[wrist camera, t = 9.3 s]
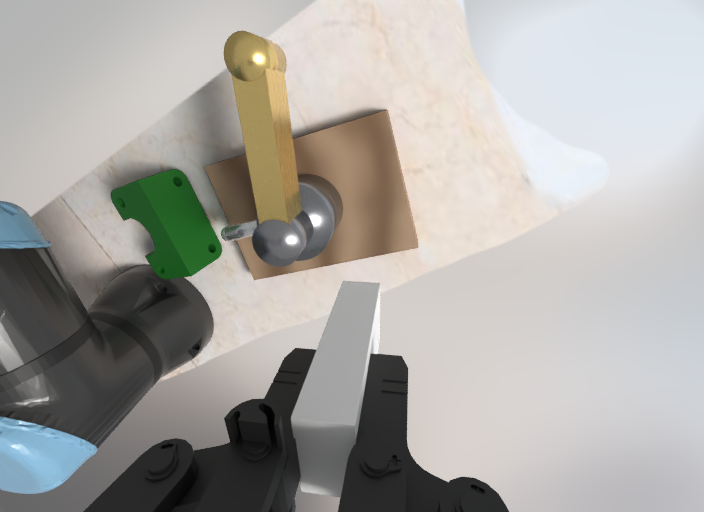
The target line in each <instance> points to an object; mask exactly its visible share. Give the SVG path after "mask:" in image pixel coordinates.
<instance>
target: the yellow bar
mask: <svg viewBox="0 0 704 512" xmlns="http://www.w3.org/2000/svg"><path fill="white" fill-rule="evenodd" d="M224 60H225V63H226V66H227V68H228V70H229V71H230V72H231V74H232V80H233V85H234V90H235V96H236V101H237V107H238V112H239V117H240V123H241V128H242V134H243V139H244V144H245V150H246V155H247V161H248V166H249V172H250V177H251V182H252V188H253V193H254V199H255V204H256V209H257V215H258V220H259V225H258V226H257V227H256V229H255V230H254V232H253V236H252V244H253V248H254V250H255V252H256V254H257V255H258V256H259V258H260V259H261V260H263V261H264V262H265V263H267V264H269V265H272V266H276V267H285V266H288V265H290V264H292V263H293V262H294V261H295V260H296V259H297V258H298V256H299V255H300V254H301V252H302V251H303V250H304V248H305V247H306V245H307V244H308V243H309V241H310V240H311V238H312V236H313V231H314V229H313V223H312V221H311V219H310V217H309V216H308V214H307V213H306V212H304V211H303V210H302V207H301V200H300V192H299V184H298V176H297V169H296V161H295V153H294V145H293V137H292V130H291V122H290V114H289V106H288V98H287V91H286V83H285V75H284V73H285V71H286V57H285V54H284V52H283V50H282V49H281V48H280V47H279V46H278V45H277V44H276V43H274V42H272V41H270V40H267V39H265V38H262V37H259V36H257V35H254V34H252V33H249V32H246V31H238V32H235V33H233V34H232V35H231V36H230V37H229V38H228V39H227V41H226V43H225V47H224Z"/></svg>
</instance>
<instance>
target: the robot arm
mask: <svg viewBox="0 0 704 512" xmlns="http://www.w3.org/2000/svg"><path fill="white" fill-rule="evenodd" d="M50 246H51V243H50V242H49V241H46V240H45V239H44V237H43V236H42V234H41V233H40V231H39V230H38V228H37V227H36V225H35V223H34V222H33V220H32V219H31V217H30V216H29V215H28V213H27V212H26V211H25V210H24V209H22V208H21V207H19V206H17V205H15V204H12V203H9V202H3V201H0V489H1V490H6V491H10V492H16V493H27V494H33V493H41V492H46V491H49V490H52V489H54V488H56V487H58V486H59V485H61V484H62V483H63V482H65V481H66V480H67V479H68V478H69V477H70V476H71V475H72V474H73V473H74V472H75V471H76V470H77V469H78V468H79V467H80V466H81V465H82V464H83V463H84V462H85V461H86V460H87V459H88V458H89V457H91V456H92V455H94V454H95V453H96V451H97V449H98V448H99V446H100V445H101V444H102V443H103V442H104V441H105V440H106V438H107V437H108V436H109V435H110V434H111V433H112V432H113V431H114V429H115V428H116V427H117V426H118V425H119V424H120V423H121V421H122V420H123V419H124V418H125V417H126V416H127V415H128V414H129V412H130V411H131V410H132V409H133V408H134V407H135V406H136V404H137V403H138V402H139V401H140V400H141V399H142V398H143V397H144V396H145V394H146V393H147V392H148V391H149V390H150V389H151V388H152V387H153V385H154V384H155V383H156V382H157V381H158V380H159V379H160V378H161V377H163V376H165V375H166V374H168V373H170V372H172V371H173V370H175V369H177V368H178V367H180V366H182V365H184V364H185V363H187V362H189V361H190V360H192V359H194V358H195V357H196V356H197V355H198V354H199V353H200V352H201V351H202V350H203V349H204V347H205V346H206V345H207V344H208V343H209V341H210V339H211V337H212V334H213V317H212V314H211V311H210V308H209V306H208V304H207V302H206V301H205V299H204V297H203V296H202V295H201V293H200V292H199V291H198V290H197V289H196V288H195V287H194V286H193V285H192V284H191V283H190V282H188V281H187V280H186V279H184V278H183V277H180V278H173V279H162V278H160V277H159V276H158V275H157V274H156V273H155V272H154V270H153V269H152V267H151V265H142V266H136V267H133V268H130V269H128V270H127V271H125V272H123V273H122V274H120V275H118V276H117V277H115V278H114V279H113V280H112V281H111V282H110V283H109V284H108V285H107V286H106V287H105V289H104V290H103V291H102V293H101V294H100V295H99V297H98V298H97V299H96V300H95V302H94V303H93V304H92V306H91V307H90V308H89V310H88V311H86V309H85V307H84V305H83V304H82V302H81V300H80V298H79V297H78V295H77V293H76V292H75V290H74V288H73V286H72V285H71V283H70V281H69V280H68V278H67V276H66V274H65V273H64V271H63V269H62V267H61V266H60V264H59V262H58V261H57V259H56V257H55V255H54V254H53V252H52V250H51V249H50ZM379 341H380V283H370V282H351V281H343V282H342V285H341V288H340V290H339V293H338V295H337V298H336V301H335V303H334V306H333V308H332V311H331V314H330V317H329V319H328V322H327V324H326V327H325V330H324V332H323V335H322V337H321V340H320V342H319V345H318V348H317V350H313V349H301V348H295V349H294V350H293V351H292V352H291V353H290V354H288V355H287V356H286V357H285V358H284V360H283V362H282V364H281V366H280V368H279V370H278V373H277V374H276V376H275V378H274V380H273V383H272V384H271V386H270V388H269V390H268V392H267V394H266V396H265V398H264V399H252V400H249V401H246V402H243V403H241V404H239V405H238V406H236V407H235V408H233V409H232V410H231V411H230V412H229V413H228V415H227V416H226V417H225V418H224V419H225V423H226V427H227V431H228V434H229V438H230V442H229V443H227V444H225V445H221V446H216V447H211V448H206V449H200V450H195V451H193V449H192V446H191V445H190V444H189V443H188V442H187V441H186V440H182V439H176V438H175V439H170V440H165V441H162V442H161V443H158V444H156V445H154V446H152V447H151V448H150V449H149V450H147V451H146V452H145V453H143V454H142V455H141V456H140V457H139V458H138V459H137V460H136V461H135V462H134V463H133V464H132V465H131V466H130V467H129V468H128V469H127V470H126V471H125V472H124V473H122V474H121V475H120V476H119V478H117V479H116V480H115V481H114V482H113V483H112V484H111V485H110V487H108V488H107V489H106V490H105V491H104V492H103V493H102V494H101V495H100V496H99V497H98V498H97V499H96V500H95V501H94V502H93V503H92V504H91V505H90V506H89V507H88V508H87V509H86V510H85V511H84V512H295V507H296V506H295V499H294V498H295V494H296V491H297V487H298V484H299V481H300V485H301V491H303V492H309V493H316V494H322V495H329V496H335V497H341V498H340V504H339V510H338V512H509V511H508V509H507V507H506V505H505V504H504V502H503V500H502V499H501V497H500V496H499V494H498V493H497V492H496V491H494V490H493V489H492V488H491V487H490V486H489V485H488V484H486V483H484V482H482V481H480V480H477V479H475V478H469V477H459V478H456V479H453V480H450V482H449V483H448V482H446V481H444V480H442V479H440V478H438V477H436V476H434V475H432V474H430V473H428V472H427V471H425V470H423V469H422V468H421V467H420V466H419V465H418V464H417V463H416V462H415V461H414V459H413V458H412V456H411V454H410V452H409V449H408V447H407V394H408V367H407V365H406V364H405V362H404V360H403V358H402V356H395V355H394V356H393V355H383V354H378V348H379Z"/></svg>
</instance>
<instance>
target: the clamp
mask: <svg viewBox="0 0 704 512" xmlns="http://www.w3.org/2000/svg"><path fill="white" fill-rule="evenodd" d="M111 199H112V202H113V204H114V205H115V207H116V209H117V210H118V212H119V214H120V215H121V217H122V219H123V220H124V221H125V220H127V219H130V218H132V219H135V220H137V221H138V222H140V223H141V224H142V225H143V226H144V227H145V228H146V229H147V230H148V232H149V233H150V235H151V237H152V239H153V241H154V245H155V251H153V252H151V253H149V254H147V255H146V256H145V257H146V259H147V260H148V262H149V264H150V265H151V267H152V269H153V270H154V272H155V273H156V274H157V275H158V276H159V277H160V278H162V279H173V278H180V277H188V276H192V275H194V274H195V273H197V272H198V271H200V270H201V269H203V268H204V267H206V266H207V265H209V264H210V263H212V262H213V261H215V260H216V259H218V258H219V257H220V255H221V253H222V247H221V244H220V242H219V240H218V238H217V236H216V234H215V232H214V230H213V228H212V226H211V224H210V222H209V220H208V218H207V216H206V214H205V212H204V210H203V208H202V206H201V204H200V202H199V200H198V198H197V196H196V194H195V192H194V190H193V188H192V186H191V184H190V182H189V180H188V178H187V177H186V175H185V174H184V173H183V172H181V171H180V170H177V169H172V170H169V171H166V172H162V173H159V174H156V175H153V176H150V177H147V178H143V179H140V180H137V181H135V182H132V183H130V184H127V185H125V186H122V187H120V188H117V189H115V190H113V191H112V192H111Z"/></svg>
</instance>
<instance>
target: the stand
mask: <svg viewBox="0 0 704 512" xmlns="http://www.w3.org/2000/svg"><path fill="white" fill-rule="evenodd" d="M293 145H294V153H295V161H296V169H297V176H299V175H304V174H313V175H317V176H320V177H322V178H324V179H326V180H328V181H329V182H330V183H331V184H332V185H333V186H334V187H335V188H336V189H337V191H338V192H339V194H340V196H341V199H342V203H343V215H342V219H341V221H340V223H339V225H338V227H337V229H336V230H335V232H334V234H333V235H332V237H331V239H330V240H329V242H328V244H327V246H326V247H325V249H324V250H323V251H322V252H321V253H320V254H319V255H317V256H315V257H314V258H311V259H309V260H304V261H294V262H293V263H292V264H290V265H288V266H285V267H276V266H272V265H269V264H267V263H265V262H264V261H263V260H261V259H260V258H259V256H258V255H257V254H256V252H255V250H254V248H253V244H252V236H251V237H247V238H243V239H239V240H237V242H238V245H239V247H240V249H241V251H242V254H243V256H244V258H245V260H246V263H247V265H248V267H249V269H250V272H251V274H252V276H253V279H254V280H257V279H262V278H268V277H273V276H278V275H283V274H288V273H293V272H298V271H303V270H308V269H313V268H318V267H323V266H328V265H333V264H338V263H343V262H348V261H353V260H358V259H363V258H368V257H373V256H379V255H384V254H389V253H394V252H399V251H404V250H409V249H414V248H418V239H417V235H416V230H415V226H414V222H413V217H412V213H411V209H410V204H409V200H408V196H407V192H406V187H405V183H404V179H403V174H402V170H401V166H400V161H399V157H398V153H397V148H396V144H395V140H394V135H393V131H392V127H391V122H390V118H389V114H388V110H385V111H382V112H379V113H375V114H372V115H369V116H366V117H362V118H359V119H356V120H353V121H350V122H346V123H343V124H340V125H337V126H334V127H330V128H327V129H324V130H321V131H317V132H314V133H311V134H308V135H305V136H301V137H298V138H295V139H293ZM204 168H205V170H206V173H207V175H208V177H209V179H210V182H211V184H212V186H213V188H214V191H215V193H216V195H217V197H218V200H219V202H220V204H221V206H222V209H223V211H224V213H225V215H226V218H227V220H228V222H229V224H230V226H231V225H235V224H239V223H243V222H247V221H251V220H255V219H256V217H257V209H256V204H255V199H254V193H253V188H252V182H251V177H250V172H249V166H248V161H247V155H246V154H243V155H240V156H237V157H234V158H231V159H227V160H224V161H221V162H218V163H214V164H211V165H208V166H205V167H204Z"/></svg>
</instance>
